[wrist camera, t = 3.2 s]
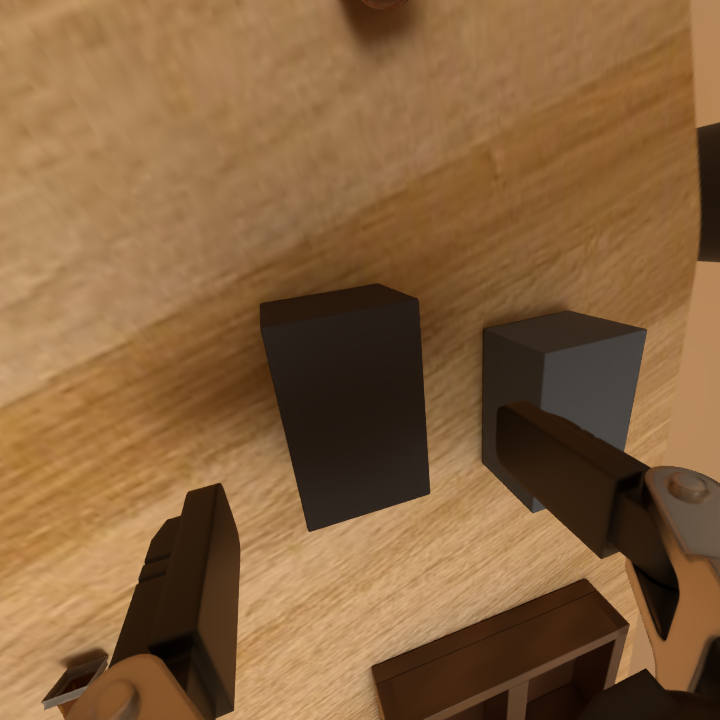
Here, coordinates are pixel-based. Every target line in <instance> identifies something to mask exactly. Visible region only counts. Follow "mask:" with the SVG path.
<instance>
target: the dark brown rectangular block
mask: <svg viewBox="0 0 720 720" xmlns="http://www.w3.org/2000/svg"><path fill="white" fill-rule="evenodd" d="M260 328H261V334H262V338H263V343H264V347H265V351H266V355H267V359H268V364H269V368H270V372H271V376H272V381H273V385H274V389H275V393H276V397H277V402H278V406H279V410H280V414H281V419H282V423H283V427H284V431H285V436H286V440H287V444H288V448H289V452H290V457H291V461H292V465H293V469H294V474H295V478H296V482H297V486H298V490H299V495H300V499H301V503H302V507H303V512H304V516H305V520H306V524H307V528H308V531H309V532H311V531H315V530H318V529H321V528H324V527H327V526H330V525H334V524H337V523H340V522H343V521H346V520H349V519H353V518H356V517H359V516H362V515H365V514H368V513H372V512H375V511H378V510H381V509H384V508H387V507H391V506H394V505H397V504H400V503H403V502H406V501H410V500H413V499H416V498H419V497H422V496H425V495H429V494H430V481H429V465H428V448H427V431H426V415H425V398H424V381H423V365H422V348H421V331H420V315H419V300H418V299H417V298H414V297H412V296H409V295H407V294H404V293H402V292H399V291H396V290H394V289H391V288H389V287H386V286H384V285H381V284H373V285H367V286H361V287H355V288H349V289H344V290H338V291H332V292H326V293H320V294H314V295H308V296H303V297H297V298H291V299H285V300H279V301H273V302H268V303H262V304H260Z"/></svg>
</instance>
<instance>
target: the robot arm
mask: <svg viewBox="0 0 720 720" xmlns="http://www.w3.org/2000/svg"><path fill="white" fill-rule="evenodd" d="M496 455H497V458H498V460H499V462H500V464H501V466H502V467H503V468H504V470H505V471H506V472H508V473H509V474H510V475H511V476H512V477H513V478H514V479H515V480H516V481H517V482H518V483H519V484H521V485H522V486H523V487H524V488H525V489H526V490H527V491H528V492H529V493H530V494H531V495H532V496H533V497H535V498H536V499H537V500H538V501H539V502H540V503H541V504H542V505H543V506H544V507H545V508H546V509H548V510H549V511H550V512H551V513H552V514H553V515H554V516H555V517H556V518H557V519H558V520H559V521H561V522H562V523H563V524H564V525H565V526H566V527H567V528H568V529H569V530H570V531H571V532H572V533H573V534H575V535H576V536H577V537H578V538H579V539H580V540H581V541H582V542H583V543H584V544H585V545H586V546H588V547H589V548H590V549H591V550H592V551H593V552H594V553H595V554H596V555H597V556H598V557H599V558H600V559H603V558H605V557H608V556H610V555H613V554H615V553H617V552H621V553H622V554H623V555H625V556H626V557H627V558H626V562H625V568H626V572H627V575H628V578H629V581H630V584H631V587H632V590H633V593H634V596H635V599H636V602H637V605H638V608H639V611H640V614H641V617H642V620H643V623H644V626H645V629H646V632H647V635H648V638H649V641H650V644H651V647H652V651H653V655H654V660H655V678H654V677H653V676H652V675H651V673H650V672H649V671H648V670H647V669H644V670H642V671H640V672H638V673H636V674H634V675H632V676H630V677H628V678H626V679H625V680H623V681H621V682H619V683H617V684H615V685H613V686H611V687H609V688H607V689H605V690H604V691H602V692H600V693H598V694H596V695H595V696H594V697H593V698H592V700H591V701H590V702H589V704H588V705H587V706H586V708H585V709H584V710H583V712H582V713H581V714H580V715H579V717H578V718H577V719H576V720H720V483H718V482H717V481H715V480H713V479H712V478H710V477H708V476H706V475H703V474H701V473H698V472H696V471H692V470H689V469H685V468H681V467H674V466H658V467H654V468H650V467H649V466H647V465H645V464H643V463H642V462H640V461H638V460H637V459H635V458H633V457H631V456H630V455H628V454H626V453H625V452H623V451H621V450H619V449H618V448H616V447H614V446H612V445H611V444H609V443H607V442H606V441H604V440H602V439H600V438H599V437H598V438H596V437H595V435H593V434H592V433H590V432H588V431H587V430H585V429H583V430H582V429H581V427H580V426H578V425H576V424H575V423H573V422H571V421H569V420H568V419H566V418H564V417H561V416H558V415H555V414H552V413H548V412H545V411H543V410H542V409H540V408H538V407H537V406H535V405H533V404H532V403H530V402H528V401H526V400H521V401H518V402H514V403H510V404H507V405H503V406H500V407H499V408H498V410H497V416H496ZM239 575H240V542H239V535H238V531H237V527H236V524H235V521H234V518H233V515H232V512H231V509H230V506H229V503H228V500H227V497H226V494H225V491H224V488H223V486H222V484H221V483H217V484H214V485H210V486H207V487H203V488H199V489H196V490H192V491H189V492H188V493H187V495H186V498H185V502H184V506H183V510H182V514H181V516H178V517H175V518H171V519H168V520H166V522H165V523H164V524H163V526H162V527H161V528H160V530H159V531H158V532H157V534H156V535H155V536H154V538H153V539H152V540H151V543H150V546H149V549H148V552H147V555H146V558H145V565H144V566H143V567H142V570H141V573H140V576H139V579H138V580H139V584H137V585H136V588H135V591H134V594H133V597H132V600H131V603H130V606H129V609H128V612H127V615H126V618H125V621H124V624H123V627H122V630H121V633H120V636H119V639H118V642H117V645H116V648H115V651H114V654H113V657H112V660H111V662H110V665H109V667H108V669H107V670H106V671H105V672H104V673H102V674H101V675H100V676H99V677H98V678H97V679H95V680H94V681H93V682H92V683H91V684H90V685H89V686H88V688H87V689H86V690H85V691H84V692H83V693H82V694H81V696H80V697H79V698H78V700H77V701H76V702H75V704H74V705H73V706H72V708H71V710H70V711H69V713H68V715H67V716H66V718H65V720H215V718H218V717H220V716H223V715H225V714H227V713H230V712H232V711H234V698H235V673H236V649H237V624H238V599H239Z"/></svg>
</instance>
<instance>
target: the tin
mask: <svg viewBox="0 0 720 720" xmlns="http://www.w3.org/2000/svg"><path fill="white" fill-rule="evenodd" d="M360 1H361V2H363V3H364V4H366V5H368V6H369V7H372V8H375V9H381V10H387V9H392V8H395V7H397V6H400V5H402V4H403V3H405V2H406V1H408V0H360Z"/></svg>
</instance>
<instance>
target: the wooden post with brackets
mask: <svg viewBox="0 0 720 720" xmlns="http://www.w3.org/2000/svg"><path fill="white" fill-rule="evenodd" d="M107 657H108V656H105V657H102V658H99V659H96V660H94V661H91V662H88V663H85V664H82V665H79V666H76V667H74V668H71V669H68V670H66V672H65V673H64V674H63V675H62V677H61V678H60V679H59V680H58V682H57V683H56V684H55V685H54V687H53V688H52V689H51V690H50V692H49V693H48V694H47V695H46V697H45V698H44V699H43V700H42V702H41V703H42V704H43V705H44V707H45V708H44V710H46V709H49V708H51V707H54V706H58V708H59V709H60V711H61V713H62V714H63V717H64V719H65V718H66V716H67V715H68V713H69V711H70V710H71V708H72V706H73V705H74V704H75V702H76V701H77V700H78V698H79V697H80V696H81V694H82V693H83V692H84V691H85V690H86V689H87V688H88V686H89V685H90V684H91V683H92V682H93V681H94V680H95V679H97V678H98V677H99V676H100V675H101V674H102V672H103V671H104V669H105V668H106V666H107V665H108V663H107Z"/></svg>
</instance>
